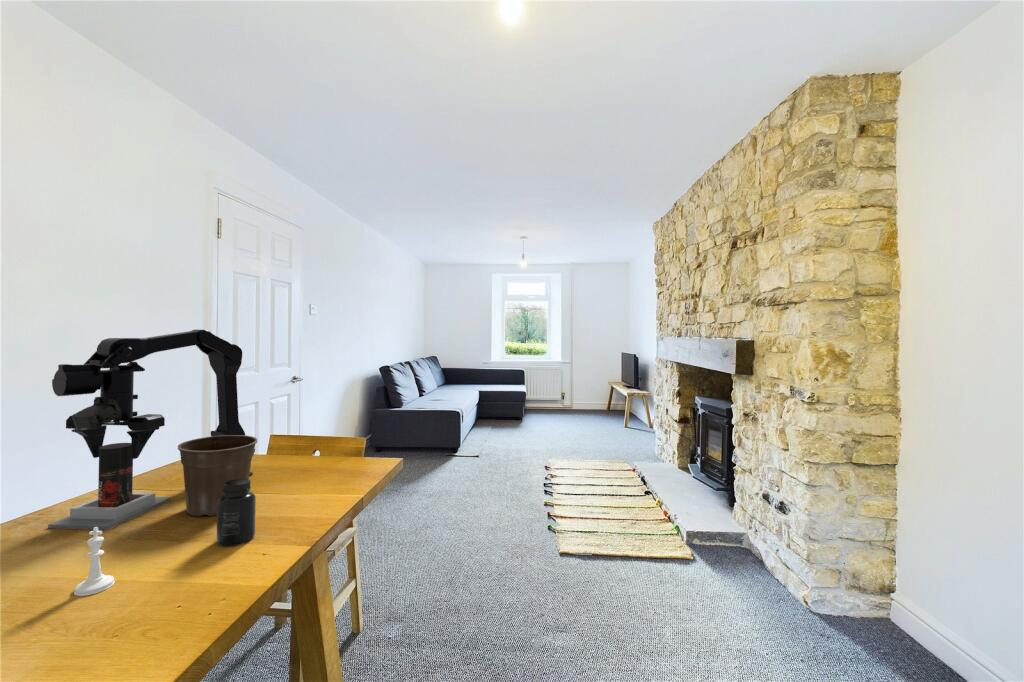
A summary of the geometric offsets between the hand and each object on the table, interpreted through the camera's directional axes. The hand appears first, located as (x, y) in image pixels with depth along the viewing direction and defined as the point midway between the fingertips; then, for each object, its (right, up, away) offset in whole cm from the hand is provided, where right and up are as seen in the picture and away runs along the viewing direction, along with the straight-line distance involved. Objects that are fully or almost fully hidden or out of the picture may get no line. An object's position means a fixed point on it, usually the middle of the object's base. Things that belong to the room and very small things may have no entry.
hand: (115, 458), depth 101 cm
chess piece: (+23, -14, -29) cm, 40 cm away
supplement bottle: (+36, -14, -11) cm, 40 cm away
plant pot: (+21, -14, +5) cm, 25 cm away
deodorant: (0, -12, 0) cm, 12 cm away
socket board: (0, -13, 0) cm, 13 cm away
